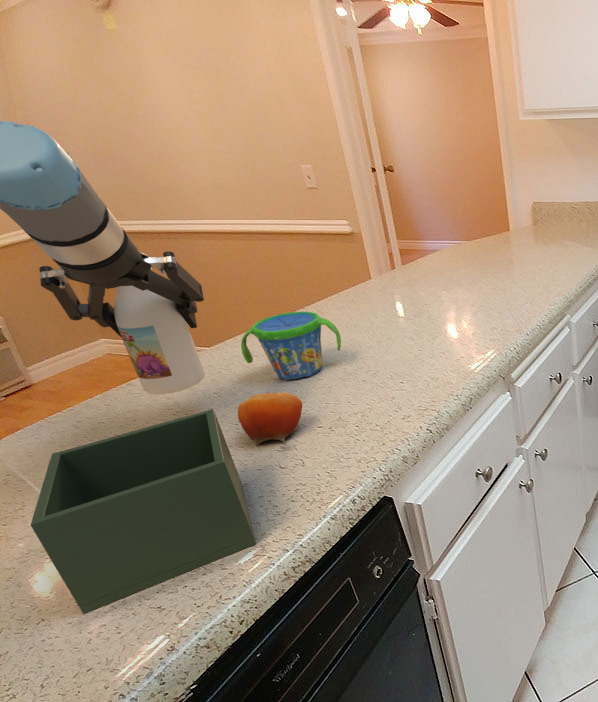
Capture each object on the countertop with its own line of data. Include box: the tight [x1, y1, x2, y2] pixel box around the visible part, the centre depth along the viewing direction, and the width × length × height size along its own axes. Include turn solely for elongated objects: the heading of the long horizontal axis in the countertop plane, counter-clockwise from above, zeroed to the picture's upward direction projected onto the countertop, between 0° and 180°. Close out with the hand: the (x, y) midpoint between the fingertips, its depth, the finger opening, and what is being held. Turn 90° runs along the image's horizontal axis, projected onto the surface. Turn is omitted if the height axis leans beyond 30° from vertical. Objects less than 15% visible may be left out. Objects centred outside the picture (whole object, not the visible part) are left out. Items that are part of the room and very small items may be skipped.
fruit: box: [237, 392, 303, 446], centre depth 82 cm, size 8×8×8 cm
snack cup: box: [240, 311, 342, 381], centre depth 101 cm, size 16×10×10 cm
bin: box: [30, 408, 257, 614], centre depth 61 cm, size 15×15×11 cm
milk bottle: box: [113, 267, 206, 396], centre depth 82 cm, size 8×8×20 cm
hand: (160, 325), depth 85 cm, fingers closed on milk bottle, 8 cm apart
